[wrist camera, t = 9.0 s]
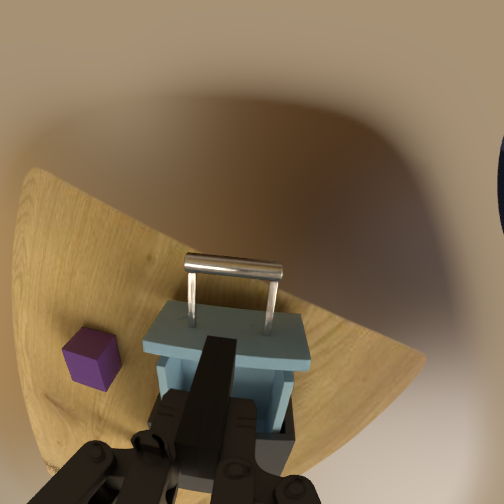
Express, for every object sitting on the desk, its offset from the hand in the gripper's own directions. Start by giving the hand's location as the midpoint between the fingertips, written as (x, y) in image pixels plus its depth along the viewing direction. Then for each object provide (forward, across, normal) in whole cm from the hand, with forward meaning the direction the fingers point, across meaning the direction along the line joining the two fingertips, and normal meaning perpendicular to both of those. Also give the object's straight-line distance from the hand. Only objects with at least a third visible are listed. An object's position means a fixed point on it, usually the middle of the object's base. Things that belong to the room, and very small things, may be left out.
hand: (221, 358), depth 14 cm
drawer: (+11, 0, -8) cm, 14 cm away
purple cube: (+12, -16, -12) cm, 24 cm away
